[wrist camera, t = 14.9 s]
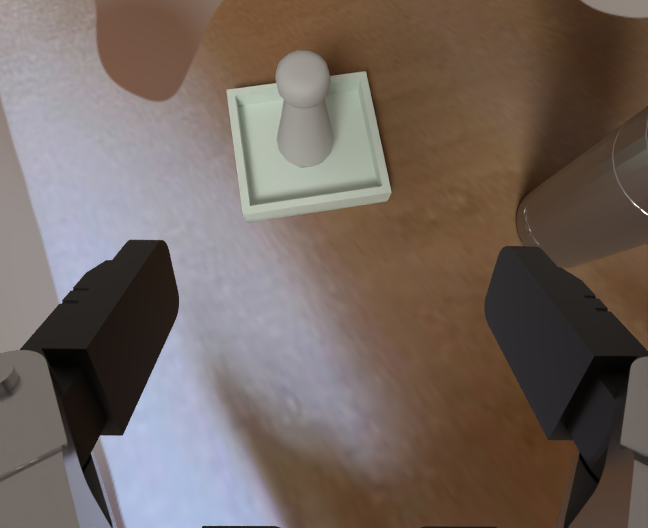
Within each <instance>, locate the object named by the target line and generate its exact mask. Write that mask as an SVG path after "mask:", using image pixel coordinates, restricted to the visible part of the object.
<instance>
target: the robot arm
mask: <svg viewBox="0 0 648 528" xmlns="http://www.w3.org/2000/svg"><path fill="white" fill-rule="evenodd" d="M516 224H517V231H518V234H519V236H520V239H521V241H522V242H523V244H524V246H505V247H503V248H502V250H501V251H500V253H499V255H498V259H497V262H496V265H495V268H494V272H493V275H492V278H491V281H490V285H489V288H488V291H487V294H486V298H485V317H486V320H487V323H488V325H489V327H490V329H491V331H492V333H493V335H494V336H495V338H496V340H497V342H498V344H499V346H500V348H501V350H502V352H503V354H504V356H505V358H506V360H507V362H508V363H509V365H510V367H511V369H512V371H513V373H514V375H515V377H516V379H517V381H518V383H519V385H520V387H521V388H522V390H523V392H524V394H525V396H526V398H527V400H528V402H529V404H530V406H531V408H532V410H533V412H534V414H535V415H536V417H537V419H538V421H539V423H540V425H541V427H542V429H543V431H544V433H545V435H546V437H547V439H548V440H573V441H574V443H575V444H576V446H577V448H578V450H577V452H576V453H575V455H574V456H573V459H572V462H571V466H570V471H569V475H568V479H567V483H566V487H565V492H564V496H563V500H562V504H561V508H560V513H559V517H558V521H557V525H556V528H648V351H647V350H646V349H645V348H644V347H643V346H642V345H641V343H640V342H639V341H638V340H637V339H636V338H635V337H634V336H633V335H632V334H631V333H630V332H629V331H628V330H627V329H626V327H625V326H624V325H623V324H622V323H621V322H620V321H619V320H618V319H617V318H616V317H615V316H614V315H613V314H612V312H608V311H607V309H608V308H607V307H606V306H605V305H604V304H603V303H602V302H601V301H600V300H599V299H596V298H595V296H596V295H595V294H594V293H593V292H592V291H591V290H590V289H589V288H588V287H587V286H586V285H585V284H584V283H583V281H582V280H580V279H578V278H577V277H575V276H574V275H572V274H570V273H569V272H567V271H566V270H564V269H562V268H558V267H572V266H577V265H581V264H584V263H587V262H590V261H593V260H596V259H600V258H603V257H606V256H610V255H613V254H616V253H619V252H622V251H626V250H629V249H632V248H635V247H638V246H641V245H645V244H648V106H647V107H646V108H644V109H643V110H642V111H640V112H639V113H637V114H636V115H635V116H633V117H632V118H631V119H630V120H628V121H627V122H625V123H624V124H623V125H621V126H620V127H619V128H617V129H616V130H614V131H613V132H612V133H610V134H609V135H608V136H606V137H605V138H603V139H602V140H601V141H599V142H598V143H597V144H595V145H594V146H592V147H591V148H590V149H588V150H587V151H586V152H584V153H583V154H581V155H580V156H579V157H577V158H576V159H575V160H573V161H572V162H570V163H569V164H568V165H566V166H565V167H564V168H562V169H561V170H559V171H558V172H557V173H555V174H554V175H552V176H551V177H550V178H548V179H547V180H546V181H544V182H543V183H541V184H540V185H539V186H537V187H536V188H535V189H533V190H532V191H530V192H529V193H528V194H527V195H526V196H525V197H524V198H523V200H522V202H521V203H520V205H519V208H518V211H517V217H516ZM62 301H63V303H62V304H59V305H58V306H57V307H56V308H55V310H54V311H53V312H52V313H51V314H50V315H49V316H48V318H47V319H46V320H45V321H44V322H43V323H42V325H41V326H40V327H39V328H38V329H37V330H36V332H35V333H34V334H33V335H32V336H31V337H30V339H29V340H28V341H27V342H26V343H25V344H24V345H23V347H22V348H21V349H20V350H16V351H9V352H4V353H0V528H117V526H116V523H115V520H114V517H113V513H112V510H111V507H110V503H109V501H108V497H107V494H106V491H105V487H104V484H103V481H102V478H101V475H100V471H99V468H98V465H97V462H96V459H95V456H94V454H93V452H92V450H93V448H94V446H95V444H96V442H97V440H98V438H99V436H100V435H123V434H124V431H125V429H126V427H127V425H128V423H129V421H130V418H131V416H132V414H133V412H134V410H135V407H136V405H137V403H138V401H139V399H140V396H141V394H142V392H143V390H144V388H145V385H146V383H147V381H148V379H149V377H150V374H151V372H152V370H153V368H154V366H155V364H156V361H157V359H158V357H159V355H160V353H161V350H162V348H163V346H164V344H165V342H166V339H167V337H168V335H169V333H170V331H171V328H172V326H173V324H174V322H175V320H176V317H177V314H178V308H179V294H178V289H177V285H176V280H175V276H174V271H173V267H172V262H171V258H170V253H169V249H168V246H167V244H166V243H165V241H163V240H129V241H128V242H127V243H126V244H125V245H124V246H123V247H122V249H121V250H120V251H119V252H118V254H117V255H116V256H115V257H114V259H113V260H106V261H104V262H103V263H101V264H100V265H98V266H96V267H95V268H93V269H92V270H90V271H88V272H87V273H86V274H85V275H84V276H83V277H82V278H81V279H80V281H79V282H78V283H77V284H76V285H75V286H74V288H73V291H70V292H69V293H68V295H67V296H66V297H65V298H64V299H63V300H62ZM202 528H280V527H276V526H202ZM422 528H497V527H422Z"/></svg>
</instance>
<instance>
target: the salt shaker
mask: <svg viewBox="0 0 648 528" xmlns="http://www.w3.org/2000/svg"><path fill="white" fill-rule="evenodd" d="M275 79H276V84H277V88H278V92H279V95H280V96H281V97H282V98H283V99H284V101H283V108H282V114H281V119H280V124H279V129H278V134H277V143H278V148H279V151H280V153H281V154H282V155H283V156H284V157H285V159H286V160H287V161H288V162H290V163H292V164H294V165H296V166H299V167H300V168H305V167H312V166H315V165H319V164H320V163H322V162H323V161H324V160H325V159H326V158H327V156H328V155H329V154H330V153H331V150H332V146H333V142H334V136H333V132H332V128H331V123H330V119H329V115H328V111H327V106H326V102H325V97H326V96H327V93H328V90H329V86H330V80H331V79H330V74H329V70H328V67H327V63H326V62H325V61H324V60H323V59H322V58H321V56H320V55H318V54H316V53H313V52H311V51H304V50H297V51H294V52H292V53H289V54H287V55H286V56H285V57H284V58H283V59H282V60H281V61H280V62H279V63H278V67H277V71H276V77H275Z"/></svg>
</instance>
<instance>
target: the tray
mask: <svg viewBox="0 0 648 528" xmlns="http://www.w3.org/2000/svg"><path fill="white" fill-rule="evenodd" d="M330 79H331V80H330V86H329V90H328V93H327V96H326V97H325V102H326V106H327V111H328V115H329V119H330V123H331V128H332V132H333V136H334V142H333V146H332V150H331V153H330V154H329V155H328V156H327V158H326V159H325V160H324V161H323V162H322V163H320V164H319V165H315V166H312V167H305V168H300V167H299V166H296V165H294V164H292V163H290V162H288V161H287V160H286V159H285V157H284V156H283V155H282V154H281V153H280V151H279V148H278V143H277V134H278V129H279V124H280V119H281V114H282V108H283V101H284V99H283V98H282V97H281V96H280V95H279V92H278V88H277V84H276V83H274V84H266V85H259V86H251V87H244V88H236V89H229V90H227V97H228V105H229V113H230V120H231V128H232V135H233V143H234V151H235V158H236V166H237V174H238V181H239V189H240V196H241V204H242V212H243V216H244V218H245V219H246V221H247V222H254V221H260V220H267V219H273V218H280V217H287V216H293V215H300V214H307V213H313V212H320V211H326V210H333V209H340V208H346V207H353V206H359V205H366V204H373V203H379V202H386V201H388V199H389V197H390V195H391V188H390V183H389V178H388V173H387V169H386V164H385V159H384V154H383V150H382V145H381V140H380V136H379V131H378V126H377V121H376V117H375V112H374V107H373V103H372V98H371V93H370V88H369V84H368V79H367V74H366V71H364V72H356V73H349V74H341V75H334V76H330Z"/></svg>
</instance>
